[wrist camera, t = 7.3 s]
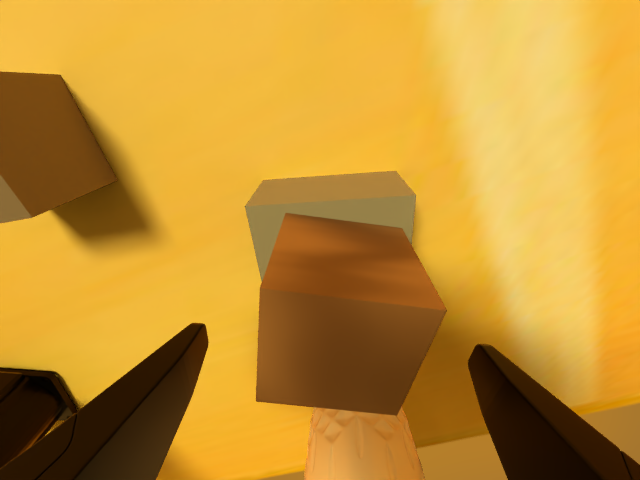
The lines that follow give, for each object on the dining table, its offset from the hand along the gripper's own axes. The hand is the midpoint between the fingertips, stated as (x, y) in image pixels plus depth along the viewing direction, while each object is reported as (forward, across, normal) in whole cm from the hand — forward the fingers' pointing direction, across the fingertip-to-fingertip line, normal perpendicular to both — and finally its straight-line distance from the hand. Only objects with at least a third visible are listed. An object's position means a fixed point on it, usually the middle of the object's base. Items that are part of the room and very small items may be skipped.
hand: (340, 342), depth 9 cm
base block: (+8, 0, 0) cm, 8 cm away
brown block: (+8, +15, -4) cm, 18 cm away
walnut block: (+4, 0, 0) cm, 4 cm away
